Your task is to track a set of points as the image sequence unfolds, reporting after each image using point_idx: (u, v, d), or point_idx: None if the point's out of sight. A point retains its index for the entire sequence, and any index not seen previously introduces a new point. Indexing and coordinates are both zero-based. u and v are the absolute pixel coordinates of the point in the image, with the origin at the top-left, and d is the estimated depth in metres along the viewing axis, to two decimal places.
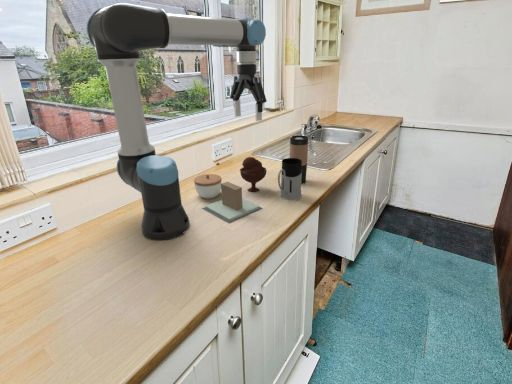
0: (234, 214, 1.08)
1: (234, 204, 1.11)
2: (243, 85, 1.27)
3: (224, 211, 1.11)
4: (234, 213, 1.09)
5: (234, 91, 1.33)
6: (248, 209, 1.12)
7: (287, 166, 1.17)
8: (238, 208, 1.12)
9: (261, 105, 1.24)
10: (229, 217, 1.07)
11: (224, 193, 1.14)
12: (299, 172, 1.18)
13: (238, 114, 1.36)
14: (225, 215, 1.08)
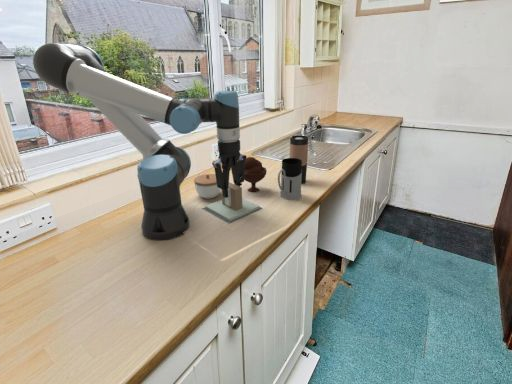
0: (234, 214, 1.08)
1: (234, 204, 1.11)
2: None
3: (224, 211, 1.11)
4: (234, 213, 1.09)
5: (238, 171, 1.13)
6: (248, 209, 1.12)
7: (287, 166, 1.17)
8: (238, 208, 1.12)
9: (223, 190, 1.10)
10: (229, 217, 1.07)
11: None
12: (299, 172, 1.18)
13: None
14: (225, 215, 1.08)
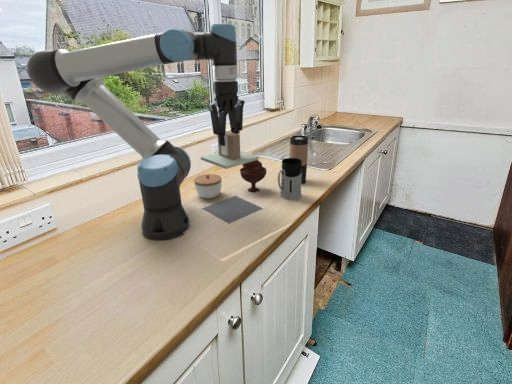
0: (231, 163, 1.01)
1: (232, 153, 1.03)
2: None
3: (221, 160, 1.03)
4: (231, 162, 1.02)
5: (236, 119, 1.06)
6: (246, 159, 1.05)
7: (287, 166, 1.17)
8: (236, 157, 1.04)
9: (220, 137, 1.02)
10: (226, 165, 0.99)
11: None
12: (299, 172, 1.18)
13: None
14: (222, 163, 1.01)
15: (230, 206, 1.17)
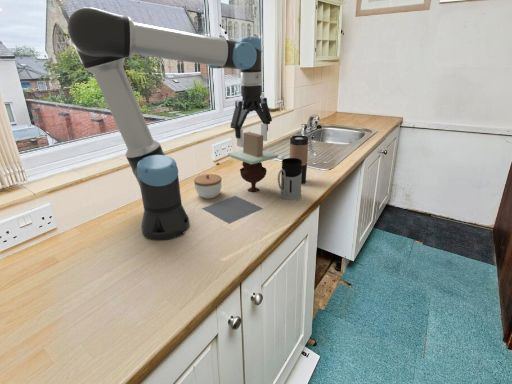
0: (255, 159, 1.18)
1: (256, 151, 1.20)
2: None
3: (246, 157, 1.20)
4: (255, 158, 1.19)
5: (264, 113, 1.23)
6: (268, 156, 1.22)
7: (287, 166, 1.17)
8: (259, 155, 1.21)
9: (236, 131, 1.15)
10: (251, 161, 1.16)
11: (246, 142, 1.23)
12: (299, 172, 1.18)
13: (263, 138, 1.26)
14: (247, 159, 1.18)
15: (230, 206, 1.17)
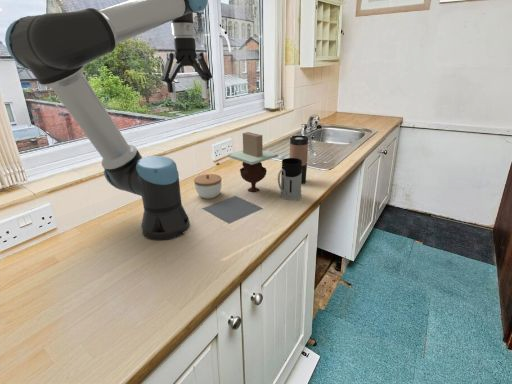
0: (255, 159, 1.18)
1: (255, 151, 1.20)
2: None
3: (246, 157, 1.20)
4: (255, 158, 1.19)
5: (203, 69, 1.20)
6: (268, 156, 1.21)
7: (287, 166, 1.17)
8: (259, 155, 1.21)
9: (168, 84, 1.11)
10: (251, 161, 1.16)
11: (246, 142, 1.23)
12: (299, 172, 1.18)
13: (204, 96, 1.23)
14: (247, 160, 1.18)
15: (230, 206, 1.17)
